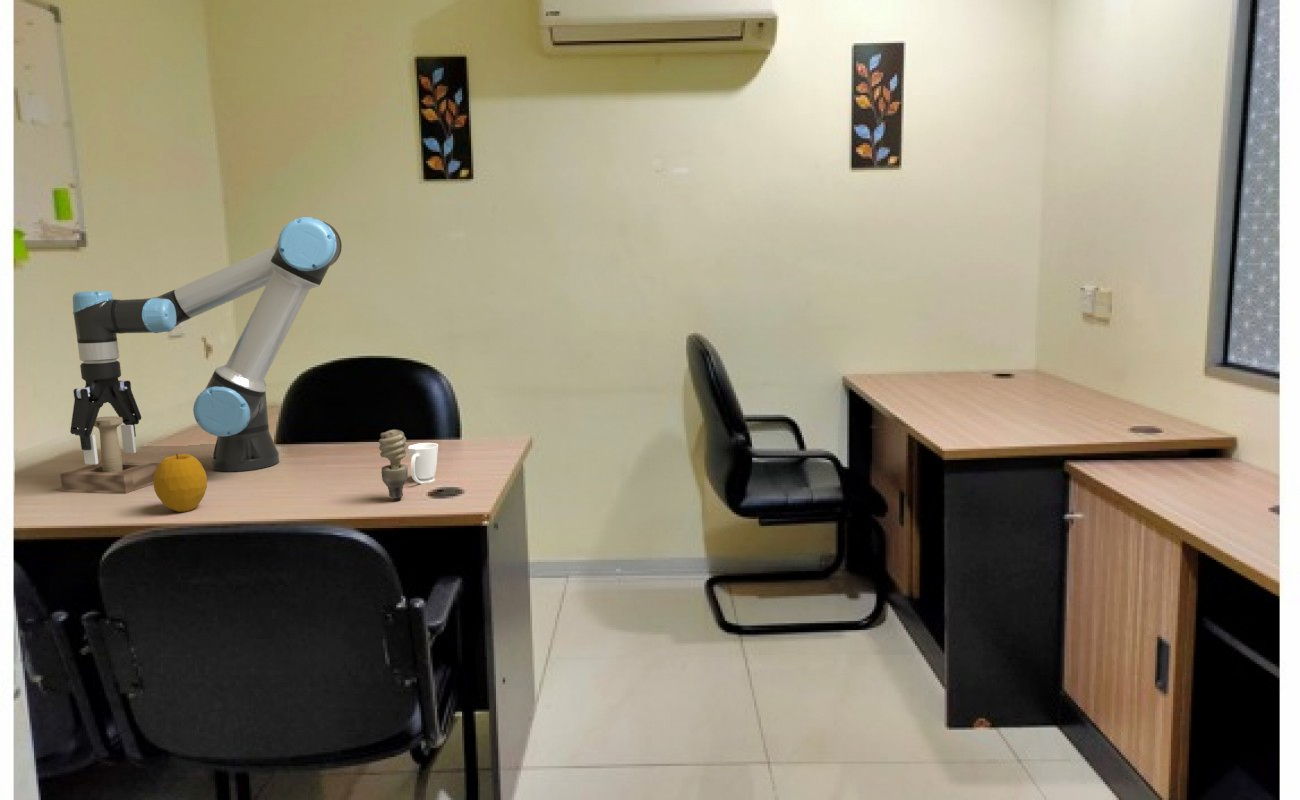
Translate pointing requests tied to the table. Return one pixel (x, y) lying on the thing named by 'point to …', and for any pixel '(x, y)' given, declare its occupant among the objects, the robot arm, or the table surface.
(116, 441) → the handle
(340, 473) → the table surface
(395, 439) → the light bulb
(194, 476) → the apple
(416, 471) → the cup
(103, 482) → the slot block
